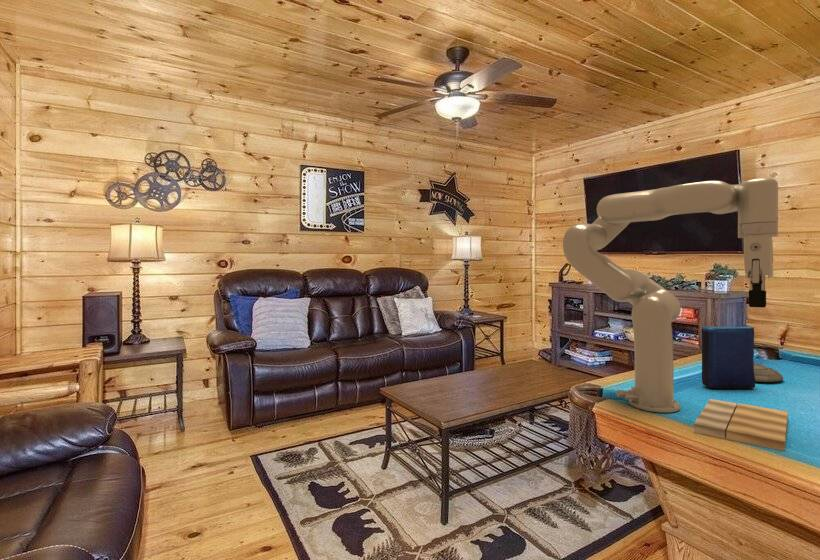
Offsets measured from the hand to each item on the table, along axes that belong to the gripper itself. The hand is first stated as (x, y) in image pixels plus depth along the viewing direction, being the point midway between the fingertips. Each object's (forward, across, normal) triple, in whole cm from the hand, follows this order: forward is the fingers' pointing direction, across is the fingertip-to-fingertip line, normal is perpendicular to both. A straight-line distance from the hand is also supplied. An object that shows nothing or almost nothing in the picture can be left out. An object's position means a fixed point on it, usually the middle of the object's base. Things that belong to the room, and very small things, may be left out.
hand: (757, 306), depth 104 cm
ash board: (+29, -2, +8) cm, 30 cm away
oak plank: (+29, -2, 0) cm, 29 cm away
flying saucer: (+30, +52, +4) cm, 60 cm away
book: (+29, +33, +9) cm, 45 cm away
